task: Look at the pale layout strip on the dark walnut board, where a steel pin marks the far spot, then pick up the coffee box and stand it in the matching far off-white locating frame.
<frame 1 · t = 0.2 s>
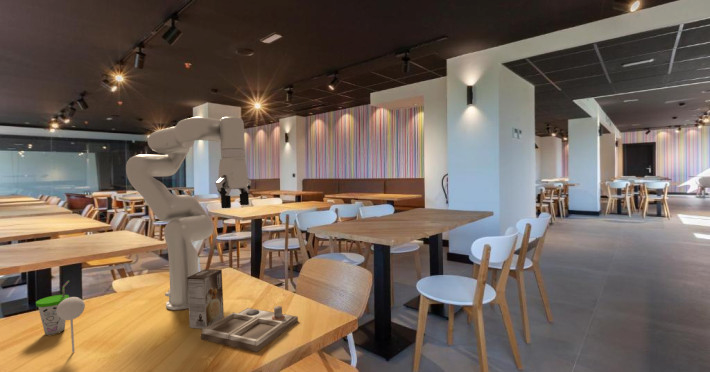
hand: (235, 206, 115), 36 cm above the table, tool pointing down, fingers open, 9 cm apart
lollipop: (73, 352, 93), on the table
layout board: (251, 329, 104), on the table
coffee box: (207, 323, 110), on the table
cup: (54, 332, 105), on the table
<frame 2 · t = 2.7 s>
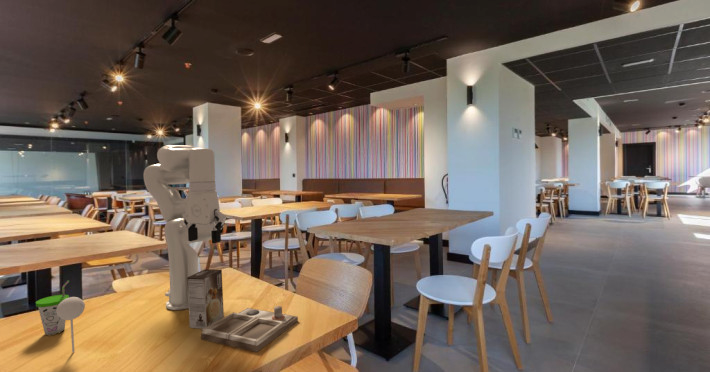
hand: (204, 241, 109), 26 cm above the table, tool pointing down, fingers open, 9 cm apart
nothing on the table moved.
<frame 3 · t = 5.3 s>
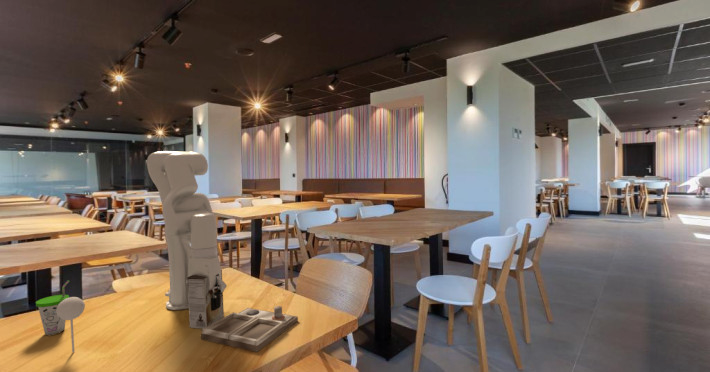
hand: (206, 306, 110), 5 cm above the table, tool pointing down, fingers closed on coffee box, 7 cm apart
coffee box: (207, 322, 110), on the table, touching gripper
everything else where it was.
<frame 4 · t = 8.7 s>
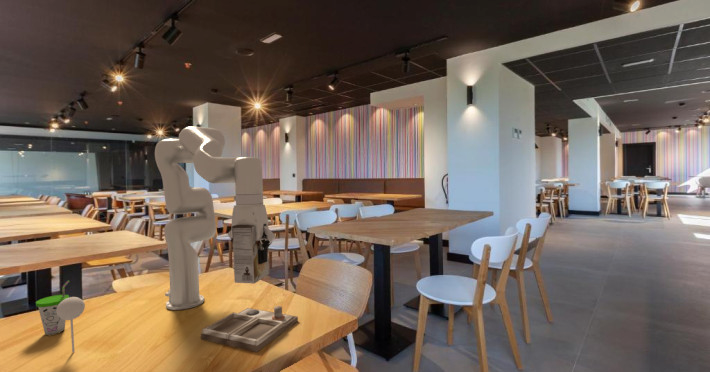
hand: (251, 261, 99), 22 cm above the table, tool pointing down, fingers closed on coffee box, 7 cm apart
coffee box: (252, 279, 99), point 17 cm above the table, touching gripper
everything else where it was.
when the fingers open (8 cm above the table, at t = 12.1 s): coffee box drops 1 cm, resting on layout board.
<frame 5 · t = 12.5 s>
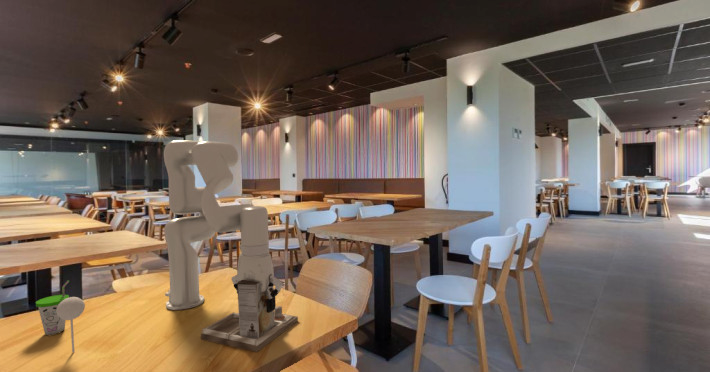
hand: (257, 308, 99), 9 cm above the table, tool pointing down, fingers open, 9 cm apart
coffee box: (257, 332, 99), point 1 cm above the table, touching layout board
everything else where it was.
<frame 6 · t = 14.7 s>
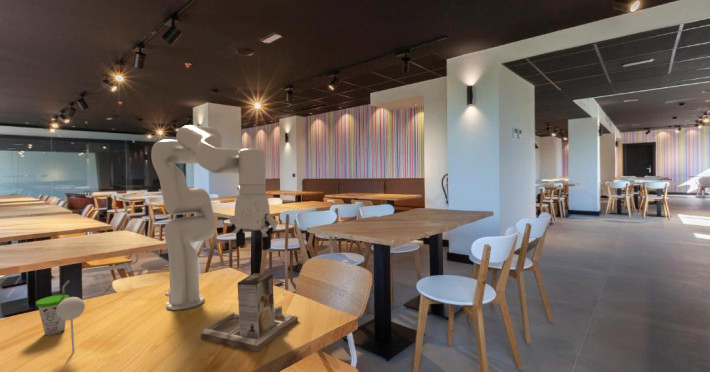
hand: (253, 247, 103), 25 cm above the table, tool pointing down, fingers open, 9 cm apart
nothing on the table moved.
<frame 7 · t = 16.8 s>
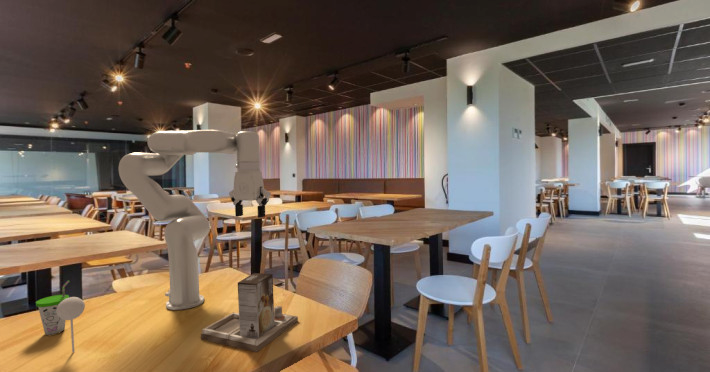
hand: (250, 216, 120), 32 cm above the table, tool pointing down, fingers open, 9 cm apart
nothing on the table moved.
at the end: coffee box 0.1 cm from the target spot on the layout board, point 1.3 cm above the layout board's base; coffee box tilted 0°; the gripper is holding nothing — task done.
